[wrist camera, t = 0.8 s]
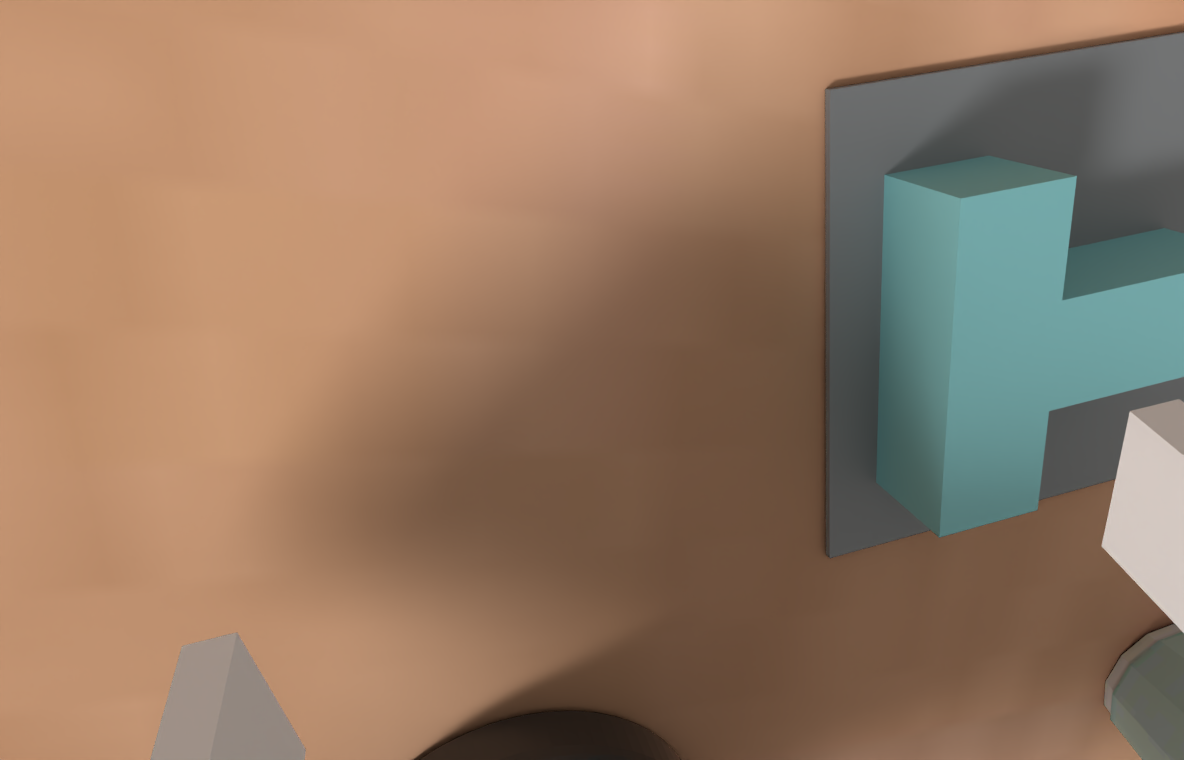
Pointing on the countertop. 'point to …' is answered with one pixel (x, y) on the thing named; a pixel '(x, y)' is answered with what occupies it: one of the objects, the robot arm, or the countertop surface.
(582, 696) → the countertop surface
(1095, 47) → the board
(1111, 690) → the disposable coffee cup
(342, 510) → the countertop surface
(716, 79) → the countertop surface
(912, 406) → the t block
